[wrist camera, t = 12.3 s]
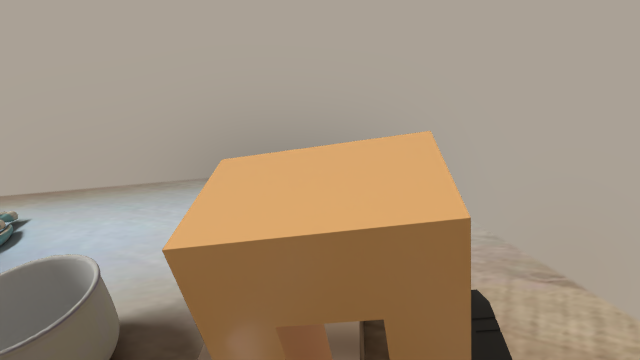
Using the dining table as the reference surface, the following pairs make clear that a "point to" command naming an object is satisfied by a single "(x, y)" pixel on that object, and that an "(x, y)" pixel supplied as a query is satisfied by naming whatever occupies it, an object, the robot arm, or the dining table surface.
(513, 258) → the dining table surface
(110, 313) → the teacup
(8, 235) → the stuffed animal
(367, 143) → the tan u-shaped block
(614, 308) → the dining table surface
